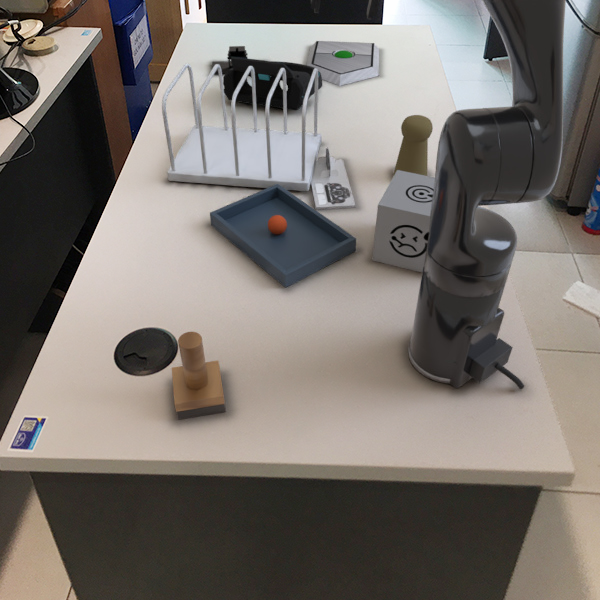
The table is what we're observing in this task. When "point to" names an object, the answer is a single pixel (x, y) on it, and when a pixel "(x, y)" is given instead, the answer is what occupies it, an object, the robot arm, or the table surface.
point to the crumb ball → (277, 224)
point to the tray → (283, 234)
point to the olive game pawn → (414, 145)
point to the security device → (344, 61)
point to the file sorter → (245, 144)
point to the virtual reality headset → (270, 82)
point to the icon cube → (404, 221)
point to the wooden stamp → (196, 380)
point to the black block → (234, 52)
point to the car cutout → (331, 184)
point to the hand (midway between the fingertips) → (342, 13)
